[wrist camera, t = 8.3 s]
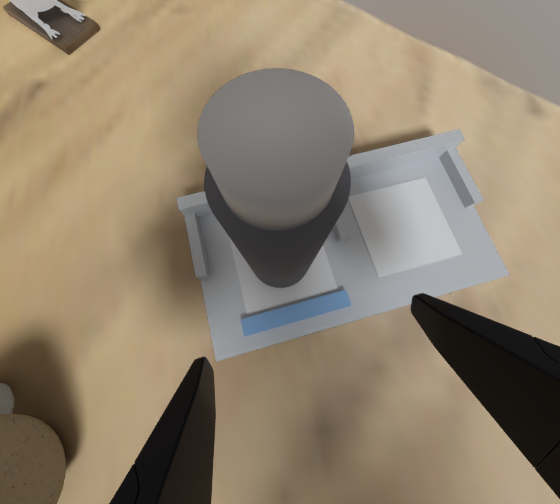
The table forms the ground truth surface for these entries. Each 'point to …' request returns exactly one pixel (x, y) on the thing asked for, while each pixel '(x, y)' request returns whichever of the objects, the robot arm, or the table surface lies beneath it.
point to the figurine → (54, 22)
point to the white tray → (354, 250)
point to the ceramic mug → (28, 457)
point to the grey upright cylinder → (277, 168)
